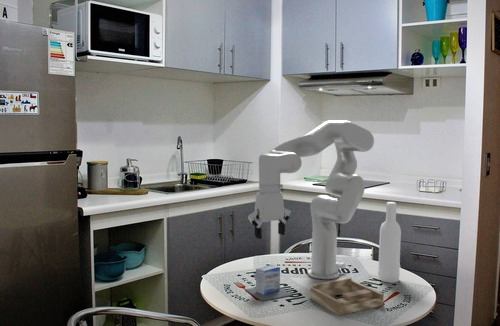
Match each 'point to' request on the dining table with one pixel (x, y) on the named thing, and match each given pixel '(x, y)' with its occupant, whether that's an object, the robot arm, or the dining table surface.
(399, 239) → the bottle
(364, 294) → the offcut stack
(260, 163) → the robot arm
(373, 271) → the dining table surface
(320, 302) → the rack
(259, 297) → the mat
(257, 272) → the medicine box
